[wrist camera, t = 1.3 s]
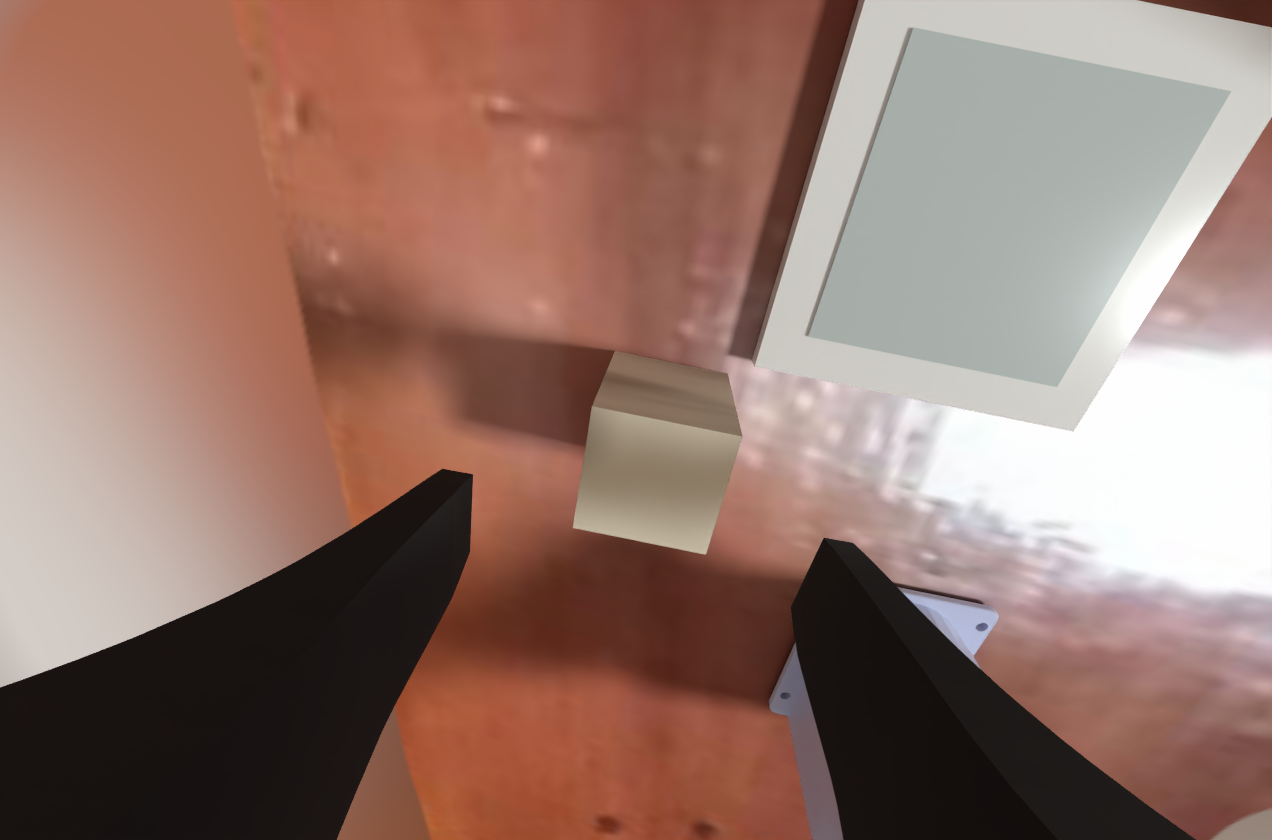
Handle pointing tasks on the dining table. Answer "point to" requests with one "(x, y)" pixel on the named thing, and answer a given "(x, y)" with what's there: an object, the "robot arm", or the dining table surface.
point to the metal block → (658, 453)
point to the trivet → (1008, 195)
